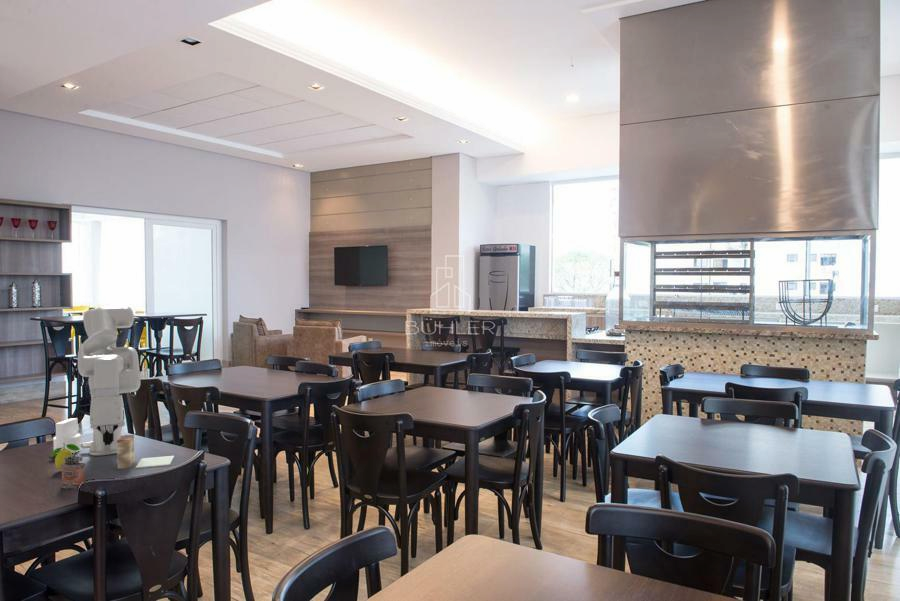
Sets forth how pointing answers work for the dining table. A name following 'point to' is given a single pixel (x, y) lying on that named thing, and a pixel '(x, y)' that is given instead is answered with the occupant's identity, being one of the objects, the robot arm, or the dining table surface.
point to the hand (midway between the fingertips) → (108, 443)
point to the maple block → (125, 451)
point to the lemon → (63, 454)
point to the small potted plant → (72, 472)
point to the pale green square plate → (155, 462)
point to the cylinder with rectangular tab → (67, 434)
